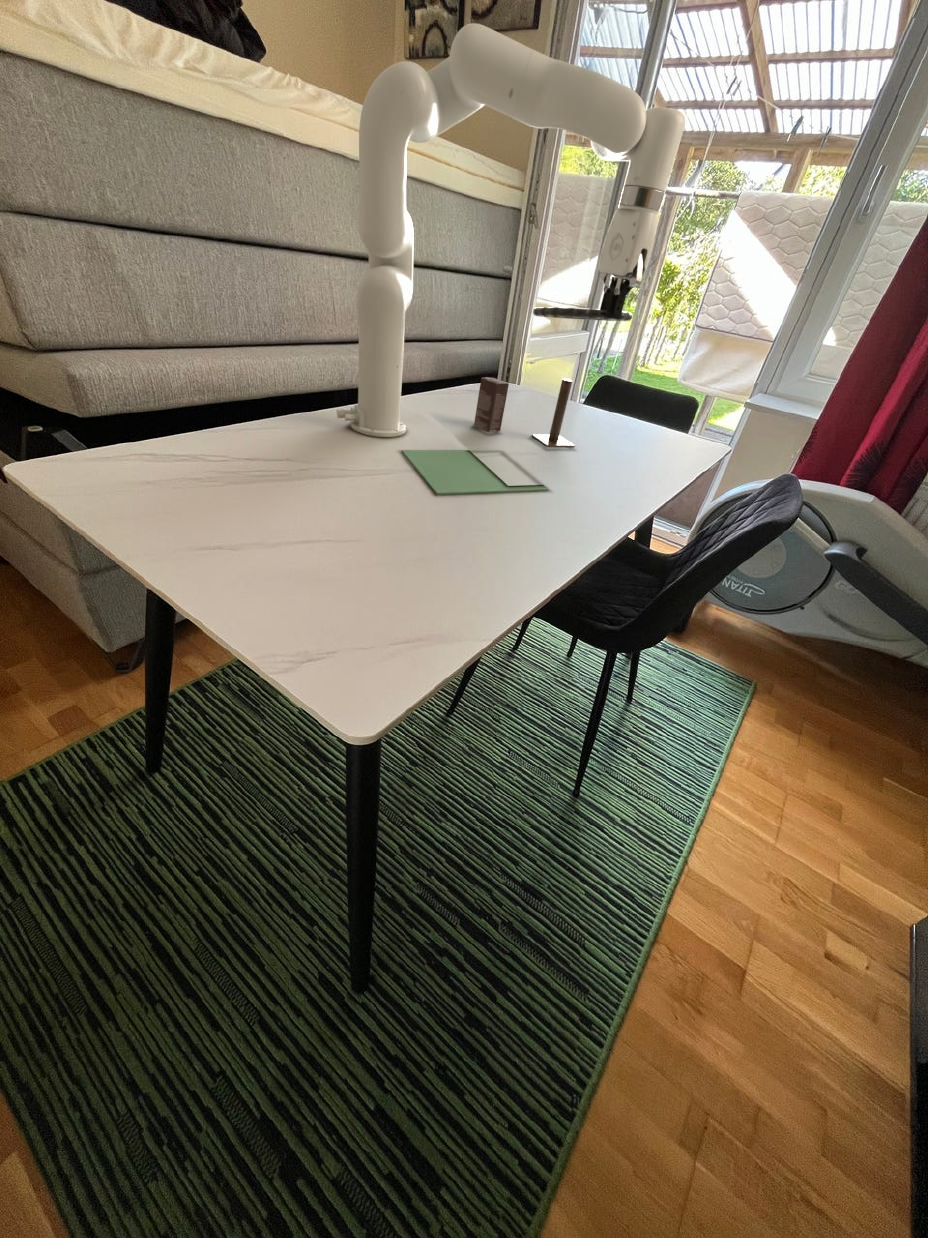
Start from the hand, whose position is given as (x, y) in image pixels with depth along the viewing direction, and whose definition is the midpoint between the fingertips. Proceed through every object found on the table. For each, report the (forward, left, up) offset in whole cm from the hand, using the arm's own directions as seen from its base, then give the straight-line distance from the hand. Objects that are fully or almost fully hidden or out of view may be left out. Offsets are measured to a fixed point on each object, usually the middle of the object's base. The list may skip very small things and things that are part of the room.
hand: (609, 316), depth 105 cm
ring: (0, +10, -1) cm, 10 cm away
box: (-13, +20, -30) cm, 38 cm away
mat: (-29, -6, -30) cm, 42 cm away
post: (0, +10, -30) cm, 31 cm away
